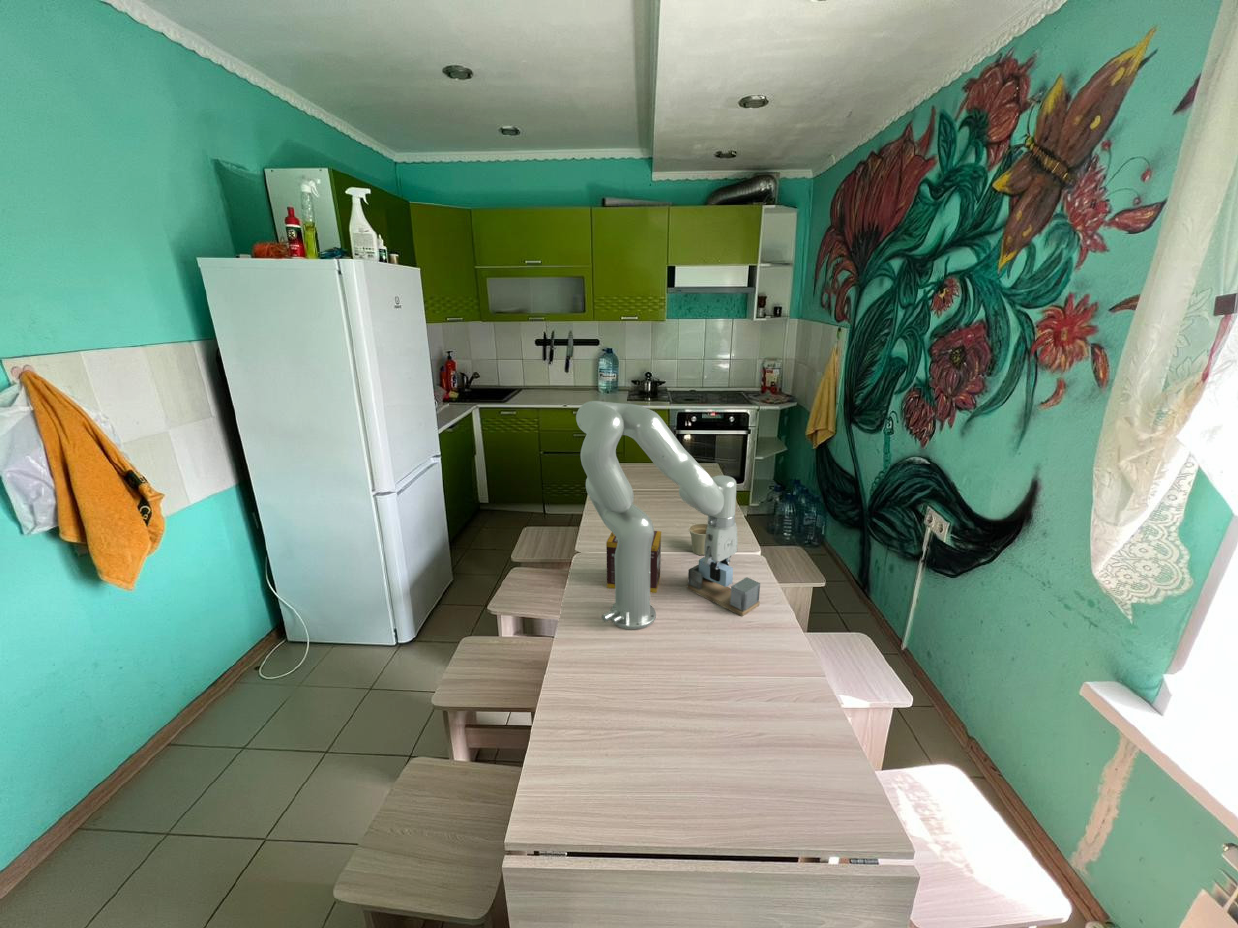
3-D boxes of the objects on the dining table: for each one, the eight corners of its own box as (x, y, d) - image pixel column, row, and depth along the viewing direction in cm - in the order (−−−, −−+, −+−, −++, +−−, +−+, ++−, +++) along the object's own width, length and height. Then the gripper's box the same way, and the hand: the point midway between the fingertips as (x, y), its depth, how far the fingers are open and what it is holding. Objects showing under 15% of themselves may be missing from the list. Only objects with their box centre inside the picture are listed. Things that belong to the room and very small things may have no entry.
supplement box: (657, 593, 154) (657, 545, 149) (606, 588, 157) (605, 541, 152) (661, 576, 164) (662, 530, 159) (613, 571, 167) (613, 527, 162)
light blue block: (732, 583, 150) (733, 567, 149) (725, 587, 148) (726, 571, 147) (705, 571, 158) (705, 556, 156) (698, 574, 156) (698, 559, 154)
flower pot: (683, 554, 178) (684, 531, 175) (693, 543, 185) (694, 521, 183) (710, 560, 173) (711, 536, 171) (718, 548, 181) (720, 526, 179)
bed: (759, 605, 147) (760, 586, 145) (742, 616, 142) (743, 596, 140) (704, 579, 162) (704, 561, 160) (687, 588, 156) (687, 569, 155)
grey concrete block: (758, 601, 147) (760, 583, 145) (743, 611, 142) (745, 592, 140) (745, 594, 150) (746, 577, 148) (730, 604, 145) (731, 586, 143)
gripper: (713, 532, 138) (711, 592, 144) (749, 514, 149) (746, 571, 154) (691, 524, 144) (690, 582, 149) (728, 507, 154) (725, 563, 159)
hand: (719, 576), depth 152 cm, fingers closed on light blue block, 3 cm apart
